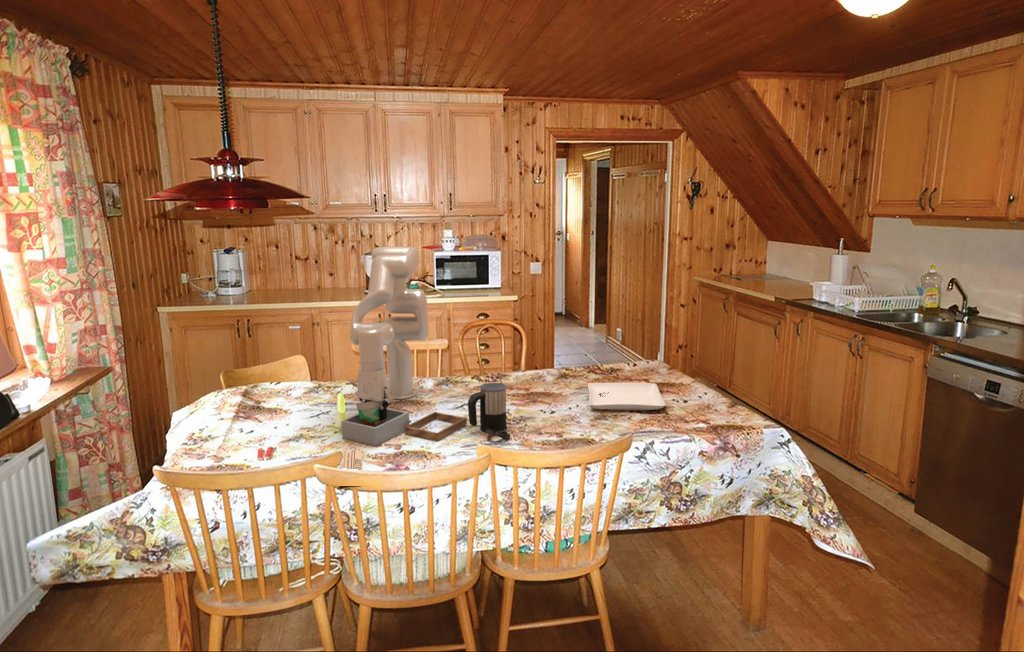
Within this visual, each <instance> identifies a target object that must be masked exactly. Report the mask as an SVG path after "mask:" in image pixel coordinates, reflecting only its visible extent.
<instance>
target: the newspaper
mask: <svg viewBox="0 0 1024 652" xmlns="http://www.w3.org/2000/svg"><path fill="white" fill-rule="evenodd" d="M342 453H343V461H342V464H341V463H340V469H341V468H347V469H358V470H362V469H363V468H362V467H363V465H362V463H363V461H362V460H363V451H362V450H359V449H351V450H349V449H348V450H347V451H346V450H345V451H343V452H342Z"/></svg>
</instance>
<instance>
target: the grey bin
mask: <svg viewBox="0 0 1024 652" xmlns="http://www.w3.org/2000/svg"><path fill="white" fill-rule="evenodd" d="M340 422H341V423H340V424H341V434H342V435H341V438H342V439H344V440H349V441H352V442H356V443H361V444H365V445H369V446H372V447H373V446H374V447H379V446H380V445H382V444H384V443H386V442H388V441H390V440H391V439H394V438H395V437H398V436H400V435H401V434H403V433H404V434H405V427H406V426H408V425H410V414H409V412H408V411H403V410H398V409H393V408H388V407H387V419H385V423H383V424H381V425H379V426H377V427H371V426H367V425H362V424H361V422H360V417H359V413H356V414H355V415H352V416H349V417H346V418H345V419H343V420H341V421H340Z"/></svg>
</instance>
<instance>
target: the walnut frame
mask: <svg viewBox="0 0 1024 652" xmlns="http://www.w3.org/2000/svg"><path fill="white" fill-rule="evenodd" d="M435 419H438V420H437V421H440V420H442V421H441V422H445V421H447V422H446V423H450V422H453V423H451V425H448V426H447V427H446V428H443V429H442V430H439V431H438V432H435V431H431V430H425V429H421V428H422V427H424V426H426V425H428V424H430V423H432V422H434V421H435ZM433 420H434V421H433ZM431 421H432V422H431ZM429 422H430V423H429ZM427 423H428V424H427ZM466 424H467V425H468V419H467V417H463V416H458V415H453V414H447V413H444V412H443V413H442V412H437V411H434V412H431V413H429V414H428V415H425V416H423V417H422V418H420V419H418V420H416V421H414V422H412V423H409V425H408V426H406V427H405V432H404V434H405V435H408V436H411V437H417V438H421V439H425V438H426V440H430V439H431V440H432V441H434V440H436V441H435V442H440V441H441V439H442V440H443V439H445V438H447V437H448V435H449V436H450V435H452V434H453V432H454V433H455V432H457V431H459V430H460V428H461V427H462V428H464V427H466V426H467V425H466ZM465 425H466V426H465ZM463 426H464V427H463ZM462 428H461V429H462ZM458 429H459V430H458ZM456 430H457V431H456ZM446 436H447V437H446ZM431 440H430V441H431ZM439 440H440V441H439Z"/></svg>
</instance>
